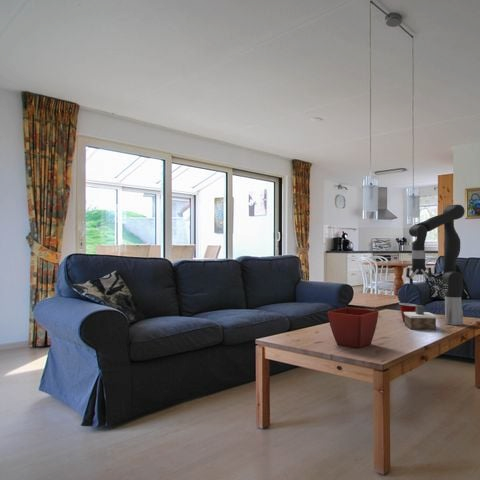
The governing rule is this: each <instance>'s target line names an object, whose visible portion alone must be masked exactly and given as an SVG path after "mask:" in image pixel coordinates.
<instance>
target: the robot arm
mask: <svg viewBox="0 0 480 480" xmlns="http://www.w3.org/2000/svg"><path fill="white" fill-rule="evenodd" d="M464 216H465V208H464V206H463V205H462V204H450V205H446V206H445V207H444V208H443V211H442V213H440V214H437V215H434V216H432V217H430V218H428V219H426V220H424V221H422V222H418V223H416V224H413V225H411V227H409V229H408V233H409V235H410V236H411V237H413V238H416V240H413V241H412V242H411V267H406V274H405V277H406V278H408V279H409V284H410V285H411V286H413V285H414V282H413V281H414V279H413V278H414V277H415V276H418V275H420V276H422V275H423V276H424V278H425V280H424V282H425V283H424V284H425V285H426V286H428V284H429V283H430V282H429V279H431V278H432V277H433V275H432V268H431V267H427V266H426V249H425V243H426V240H427V235H428V232H431V231H434V230H435V229H437V228H439V227H441V226H442V225H443V228H444V229H443V230H444V233H443V235H444V236H443V237H444V239H443V241H444V242H443V251H444V252H443V270H442V281H443V283H444V284H445V285H447V290H446V291H444V315H445V317H444V318H445V319H444V323H445V325H449V324H450V326H464V312H463V311H464V310H463V308H462V294H463V289H464V286H463V285H464V280H463V279H464V277H463V274H461V273H460V272H458V271H456V270H457V269H456V266H457V264H456V263H457V260H458V258H459V255H460V253H461V239H460V238H461V237H460V236H459V233H458V232H457V231H456V229H455V221H456V220H459V219H462V218H463V217H464ZM410 272H411V274H410ZM426 272H427V273H426Z"/></svg>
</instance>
